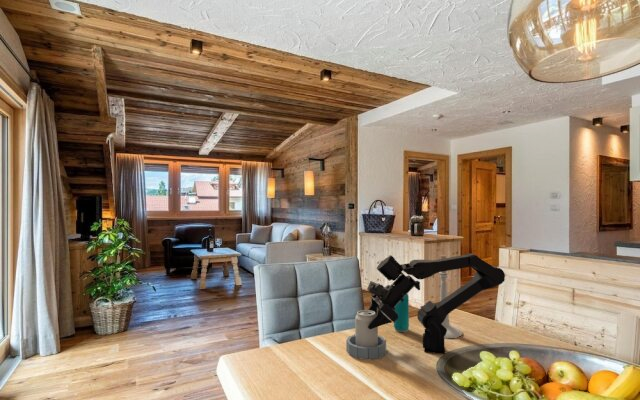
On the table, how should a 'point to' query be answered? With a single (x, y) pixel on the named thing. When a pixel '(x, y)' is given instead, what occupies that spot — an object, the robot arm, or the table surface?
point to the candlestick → (451, 330)
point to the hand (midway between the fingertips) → (366, 323)
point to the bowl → (365, 349)
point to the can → (365, 329)
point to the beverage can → (402, 315)
